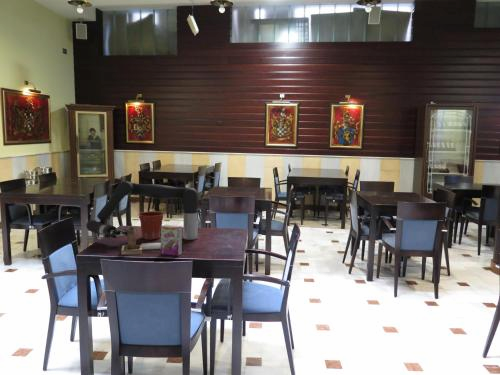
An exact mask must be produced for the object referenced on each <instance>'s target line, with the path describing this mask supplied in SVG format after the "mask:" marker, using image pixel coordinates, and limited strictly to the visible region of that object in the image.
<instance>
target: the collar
mask: <svg viewBox="0 0 500 375" xmlns="http://www.w3.org/2000/svg"><path fill="white" fill-rule="evenodd" d="M142 252H143V249H142V245H141V244H136V249H134V250H128V244H125V245H122V246H121V250H120V254H121V256H123V255H124V256H125V255H128V256H129V255H142V254H143V253H142Z"/></svg>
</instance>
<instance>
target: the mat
mask: <svg viewBox="0 0 500 375" xmlns="http://www.w3.org/2000/svg"><path fill="white" fill-rule="evenodd" d="M140 245H142V250H161V242H146V243H144V242H143V243H140Z"/></svg>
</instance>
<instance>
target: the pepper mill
mask: <svg viewBox="0 0 500 375" xmlns="http://www.w3.org/2000/svg"><path fill="white" fill-rule="evenodd" d="M126 230H127V233H128V236H127V245H128V250H134V249H136V245H137V232H136V231H137V229H135V228H134V226H133V225H131V226H129V227H128V229H126Z"/></svg>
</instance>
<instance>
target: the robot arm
mask: <svg viewBox="0 0 500 375" xmlns="http://www.w3.org/2000/svg"><path fill="white" fill-rule="evenodd" d="M126 196H141V197H147V198H150V199H151V198H152V199H158V200H168V199H169V200H170V199H171V200H172V199H177V200H178V199H180V200H182V211H183V214H182V215H183V217H182V218H183V220H182V221H183V222H182V223H183V225H182V230H183V231H182V235H183V236H182V239H184V240H187V241H188V240H189V241H190V240H197V239H198V233H199V232H198V230H199V229H198V226H199V225H198V223H199V221H198V211H199V209H198V196H199V192H198V190H197V189H196V188H194V187H178V186H177V187H175V186H171V185H164V184H158V183H157V184H156V183H155V184H154V183H148V184H146V183H145V184H142V183H136V182H131V181H127V180H123V181H121V182H119V183H118V185H117V186H116V188H115V190H114V192H113V193H112V195H111V196H110V198H109V199H108V201H106V204H104V205H103V207H102V209H101V210H100V211H99V212H98V213H97V215H96V218H98V220H99V221H98V220H94V219H91V220H89V221H87V223H86V226H85V227H86V230H88V231H89V232H92V233H94V234H95V235H101V236H102V237H104V238H106V239H117V237H119V236H120V237H121V236H127V237H128V233H127V230H128V229H126V228H125V229H124V228H121V229H118V228H117V227H116V226H114V225H110V224H108V223H107V222H108V220H109V218H111V216H113V215H112V214H114V212H115V210H116V208H117V207H118V205H119V204H120V202H121V201H123V199H124V198H125V197H126Z"/></svg>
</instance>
